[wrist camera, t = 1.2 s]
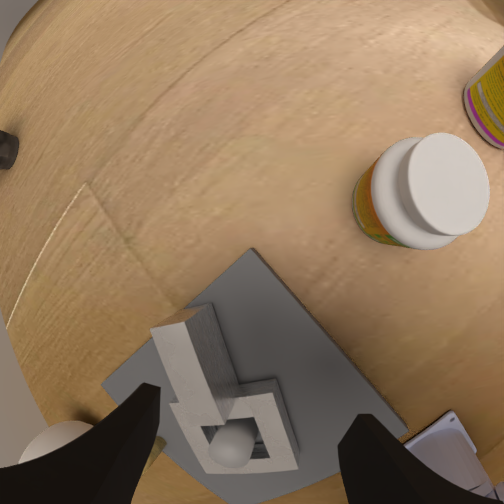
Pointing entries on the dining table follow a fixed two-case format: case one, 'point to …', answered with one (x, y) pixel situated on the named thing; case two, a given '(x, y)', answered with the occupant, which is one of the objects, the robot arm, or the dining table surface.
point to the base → (260, 369)
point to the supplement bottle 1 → (422, 193)
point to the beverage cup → (8, 150)
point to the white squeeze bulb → (54, 439)
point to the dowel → (155, 452)
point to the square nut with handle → (220, 393)
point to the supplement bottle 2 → (488, 100)
